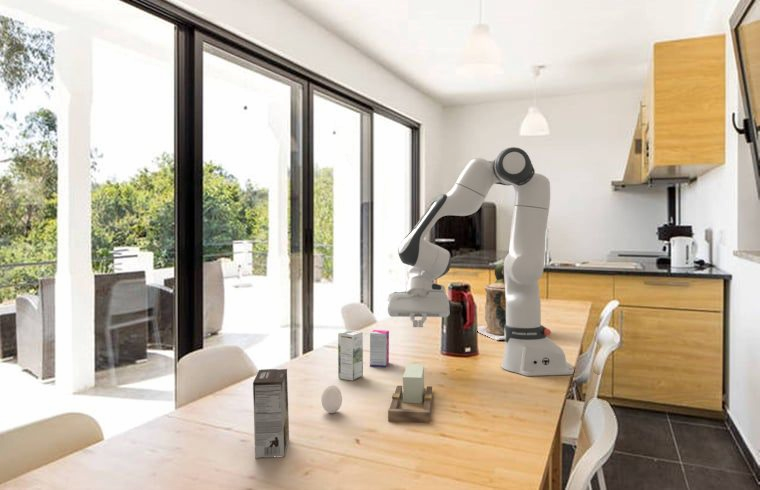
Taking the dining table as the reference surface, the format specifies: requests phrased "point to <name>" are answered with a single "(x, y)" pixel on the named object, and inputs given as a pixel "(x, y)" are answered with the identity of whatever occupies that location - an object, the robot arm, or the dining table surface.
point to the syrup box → (350, 355)
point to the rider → (413, 384)
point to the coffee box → (271, 413)
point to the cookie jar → (495, 307)
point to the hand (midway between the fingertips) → (417, 326)
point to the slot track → (409, 414)
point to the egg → (331, 398)
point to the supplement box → (379, 348)
